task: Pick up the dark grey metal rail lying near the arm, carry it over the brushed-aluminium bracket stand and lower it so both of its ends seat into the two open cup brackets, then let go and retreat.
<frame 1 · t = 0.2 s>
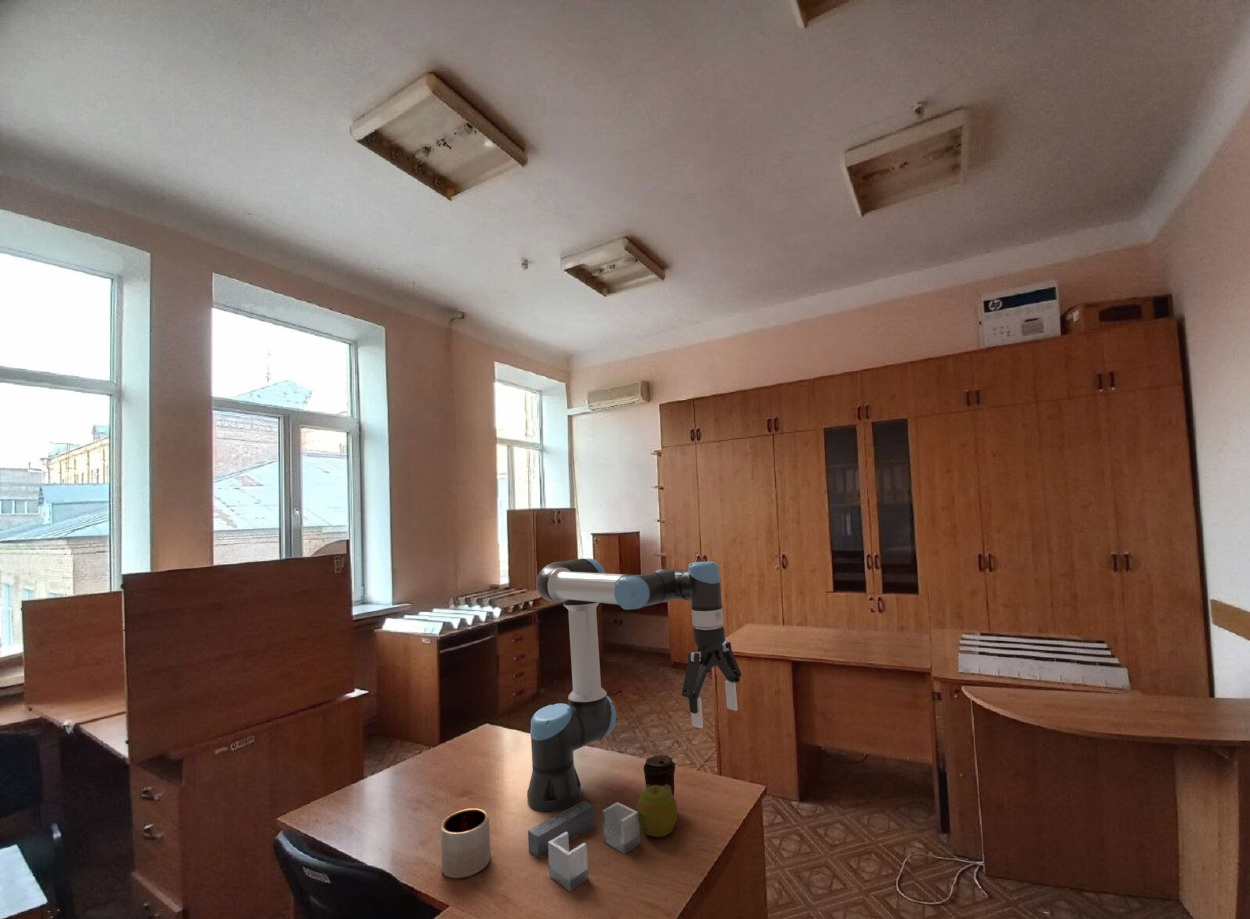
hand: (715, 717, 126), 28 cm above the table, fingers open, 13 cm apart
apple: (658, 833, 129), on the table
rail: (563, 839, 129), on the table
coffee cup: (662, 814, 137), on the table
planter: (466, 865, 121), on the table
bracket stand: (596, 859, 120), on the table
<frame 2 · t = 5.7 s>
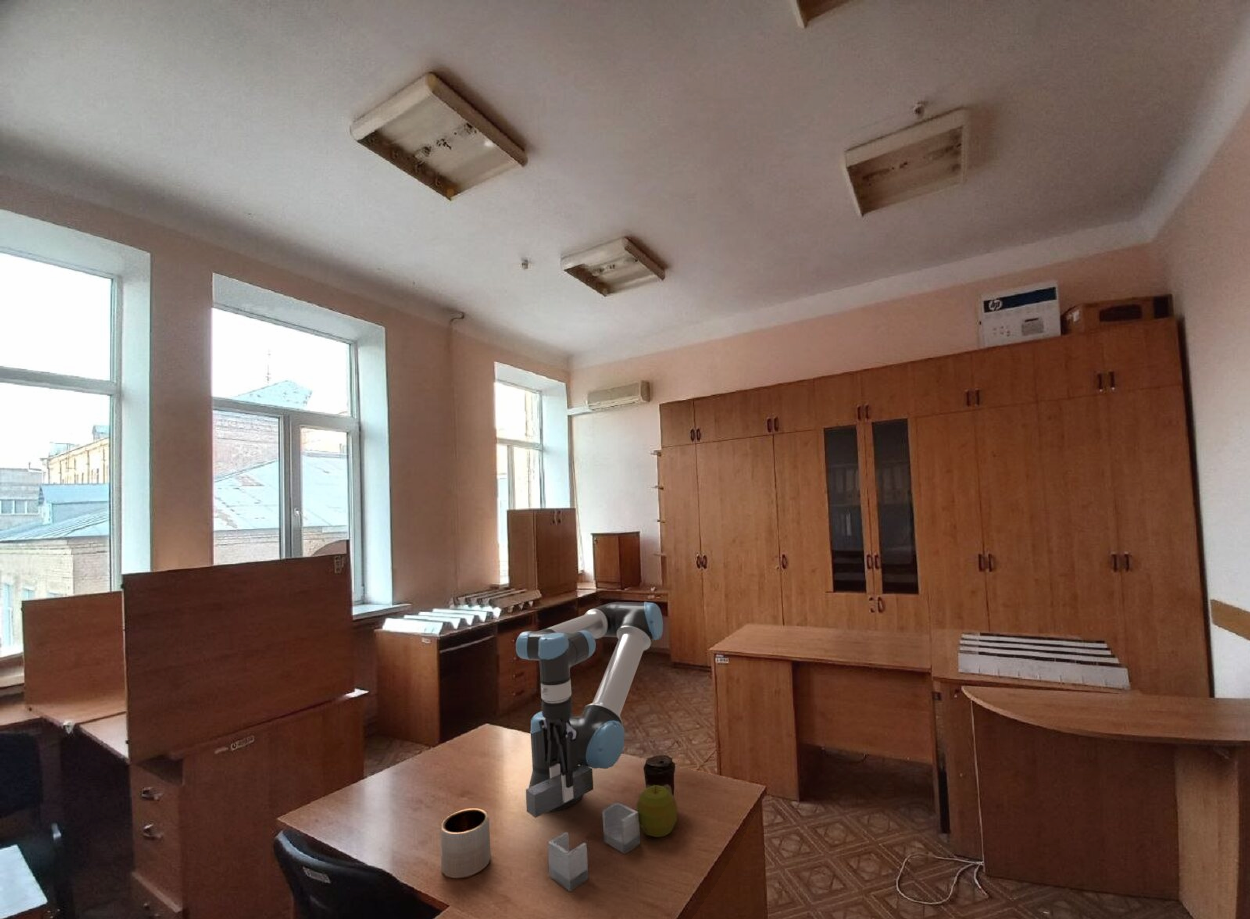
hand: (562, 796, 130), 9 cm above the table, fingers closed on rail, 4 cm apart
rail: (561, 800, 130), point 9 cm above the table, touching gripper
everything else where it was.
when the fingers open (1 cm above the table, at t = 9.1 s): rail stays where it is, resting on bracket stand.
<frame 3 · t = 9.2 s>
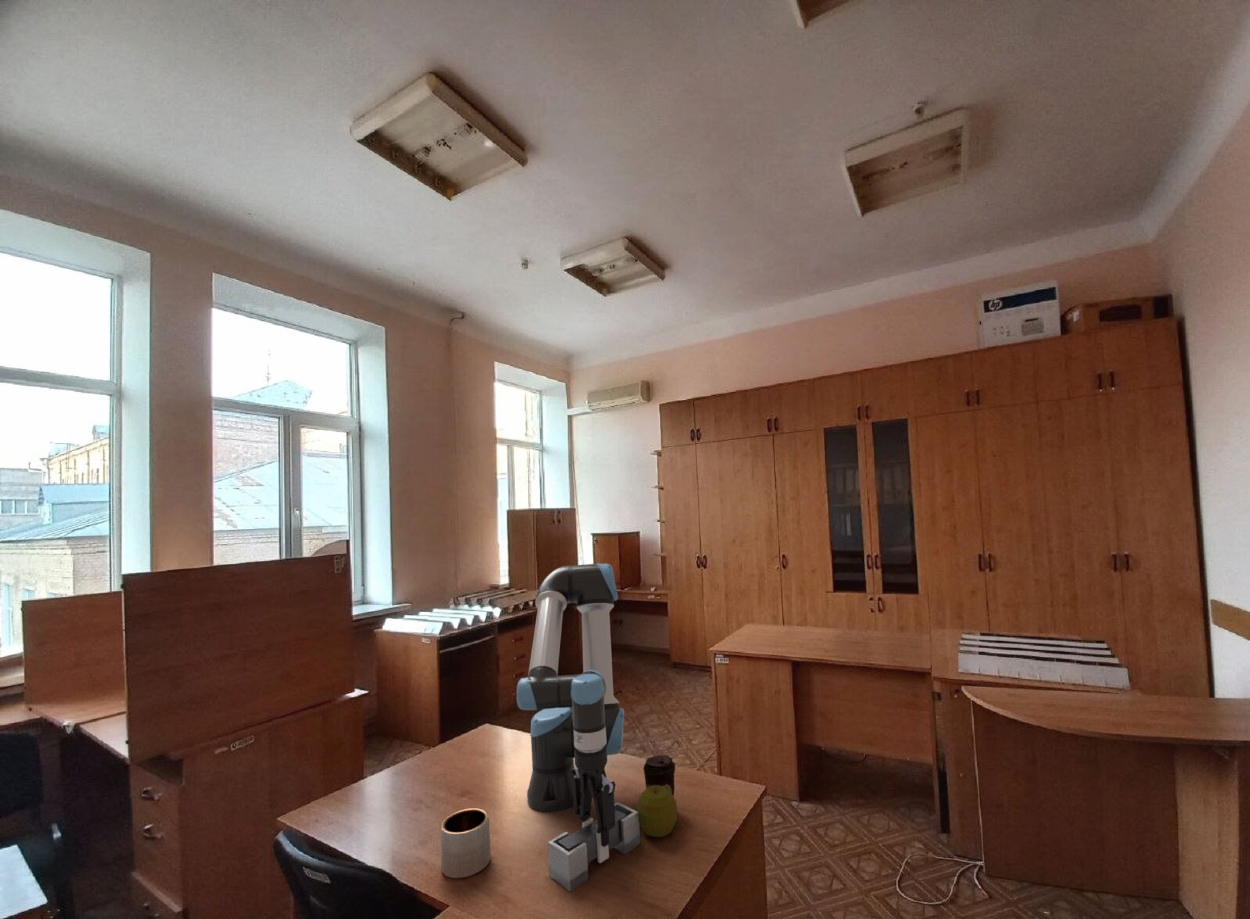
hand: (596, 855, 120), 1 cm above the table, fingers open, 4 cm apart
rail: (594, 851, 120), point 2 cm above the table, touching bracket stand
everything else where it was.
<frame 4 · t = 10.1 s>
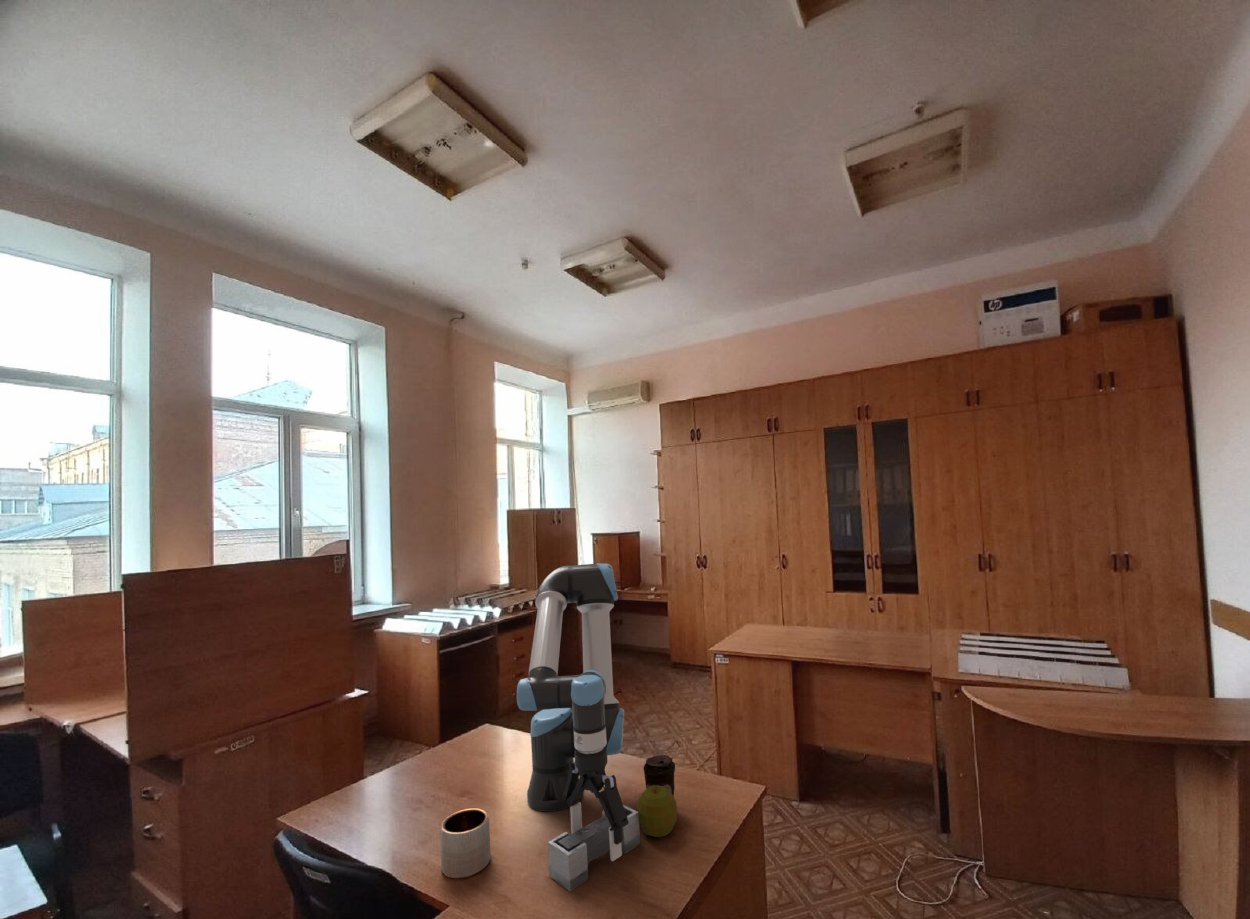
hand: (595, 845, 120), 3 cm above the table, fingers open, 13 cm apart
nothing on the table moved.
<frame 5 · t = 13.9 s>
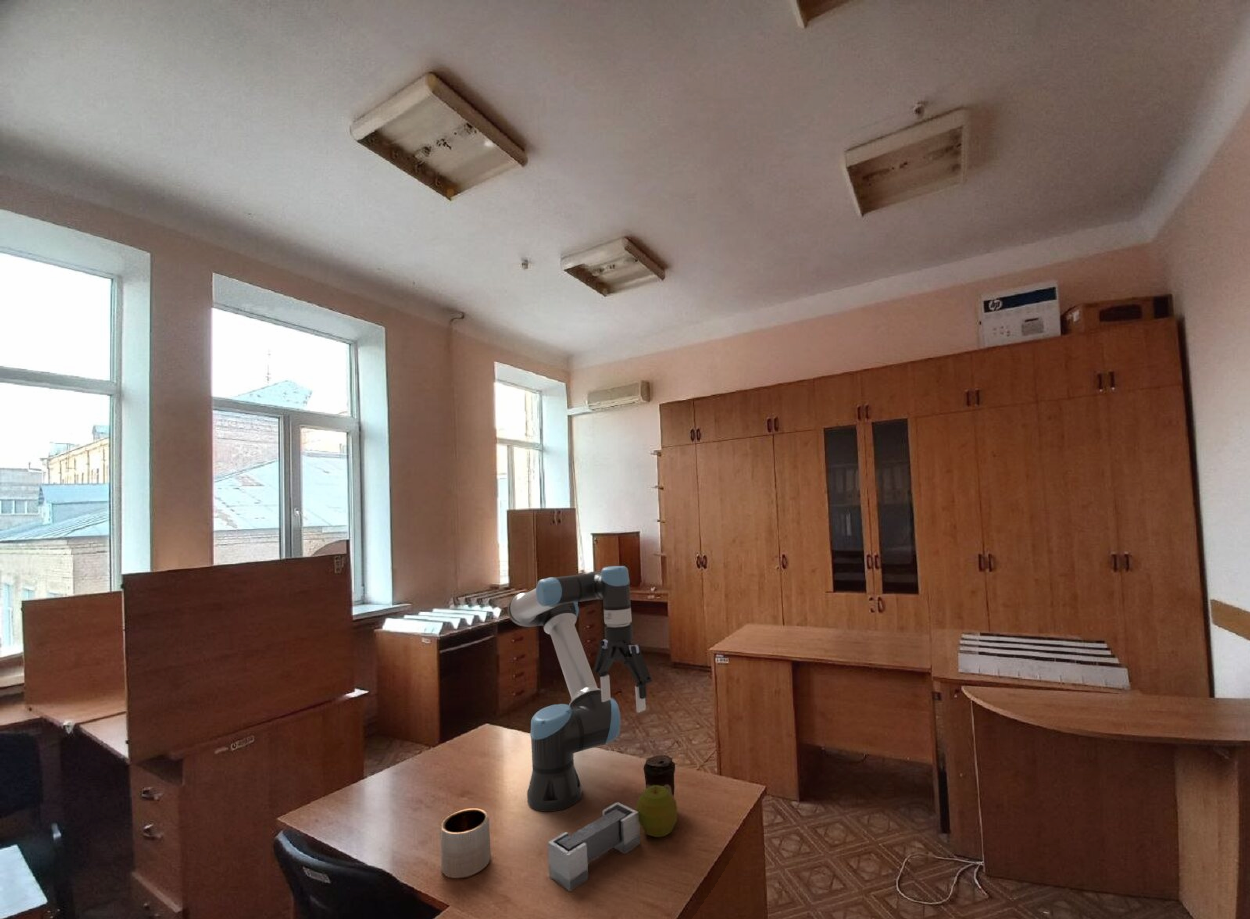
hand: (623, 705, 141), 27 cm above the table, fingers open, 13 cm apart
nothing on the table moved.
at the end: rail 0.6 cm off-centre on the bracket stand, point 2.0 cm above the bracket stand's base; rail tilted 0°; the gripper is holding nothing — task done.
